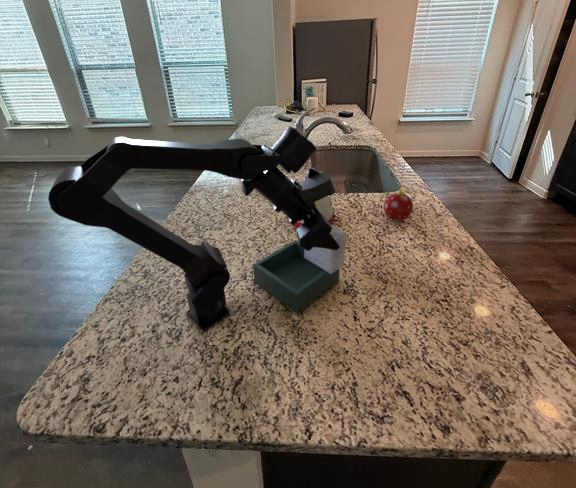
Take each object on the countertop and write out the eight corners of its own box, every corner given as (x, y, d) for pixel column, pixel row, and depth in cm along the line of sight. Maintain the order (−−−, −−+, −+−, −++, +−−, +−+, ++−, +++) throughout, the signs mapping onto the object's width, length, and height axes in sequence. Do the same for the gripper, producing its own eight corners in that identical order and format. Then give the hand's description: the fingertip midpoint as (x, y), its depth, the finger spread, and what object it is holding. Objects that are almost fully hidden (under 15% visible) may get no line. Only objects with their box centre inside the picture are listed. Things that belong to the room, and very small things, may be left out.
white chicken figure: (296, 231, 92) (295, 185, 86) (284, 211, 104) (282, 168, 97) (339, 224, 96) (342, 179, 89) (323, 205, 107) (324, 163, 100)
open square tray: (297, 313, 64) (297, 294, 62) (254, 281, 73) (252, 264, 71) (338, 280, 73) (340, 263, 71) (295, 255, 82) (295, 239, 80)
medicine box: (343, 266, 67) (348, 232, 63) (330, 275, 65) (333, 240, 61) (316, 250, 73) (319, 218, 69) (303, 258, 70) (305, 224, 66)
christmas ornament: (381, 223, 96) (385, 194, 91) (382, 210, 103) (386, 183, 98) (411, 227, 93) (416, 197, 89) (410, 214, 101) (415, 185, 96)
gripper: (323, 179, 49) (379, 234, 56) (301, 146, 66) (346, 192, 72) (274, 226, 52) (333, 273, 58) (264, 183, 68) (311, 223, 75)
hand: (331, 236), depth 66 cm, fingers closed on medicine box, 9 cm apart
